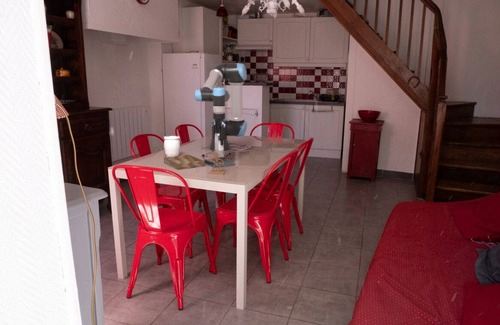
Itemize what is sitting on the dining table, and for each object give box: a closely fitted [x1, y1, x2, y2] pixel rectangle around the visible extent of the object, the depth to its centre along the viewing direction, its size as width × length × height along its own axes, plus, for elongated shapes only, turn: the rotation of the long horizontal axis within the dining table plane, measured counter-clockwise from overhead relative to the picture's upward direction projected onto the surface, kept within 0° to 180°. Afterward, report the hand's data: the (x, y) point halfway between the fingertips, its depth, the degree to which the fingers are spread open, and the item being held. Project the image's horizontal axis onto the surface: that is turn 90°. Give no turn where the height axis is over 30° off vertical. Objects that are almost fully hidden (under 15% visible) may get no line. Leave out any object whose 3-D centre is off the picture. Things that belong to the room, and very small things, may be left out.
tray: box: [163, 154, 206, 171], centre depth 241 cm, size 18×22×4 cm
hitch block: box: [203, 157, 235, 169], centre depth 243 cm, size 14×14×3 cm
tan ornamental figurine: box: [208, 153, 226, 176], centre depth 221 cm, size 9×4×12 cm, turn 76°
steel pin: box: [214, 133, 225, 158], centre depth 240 cm, size 5×5×15 cm
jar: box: [163, 135, 181, 157], centre depth 257 cm, size 11×10×15 cm
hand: (219, 149), depth 241 cm, fingers closed on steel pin, 4 cm apart
